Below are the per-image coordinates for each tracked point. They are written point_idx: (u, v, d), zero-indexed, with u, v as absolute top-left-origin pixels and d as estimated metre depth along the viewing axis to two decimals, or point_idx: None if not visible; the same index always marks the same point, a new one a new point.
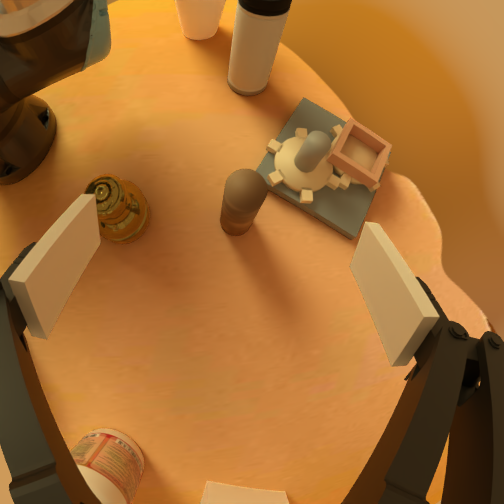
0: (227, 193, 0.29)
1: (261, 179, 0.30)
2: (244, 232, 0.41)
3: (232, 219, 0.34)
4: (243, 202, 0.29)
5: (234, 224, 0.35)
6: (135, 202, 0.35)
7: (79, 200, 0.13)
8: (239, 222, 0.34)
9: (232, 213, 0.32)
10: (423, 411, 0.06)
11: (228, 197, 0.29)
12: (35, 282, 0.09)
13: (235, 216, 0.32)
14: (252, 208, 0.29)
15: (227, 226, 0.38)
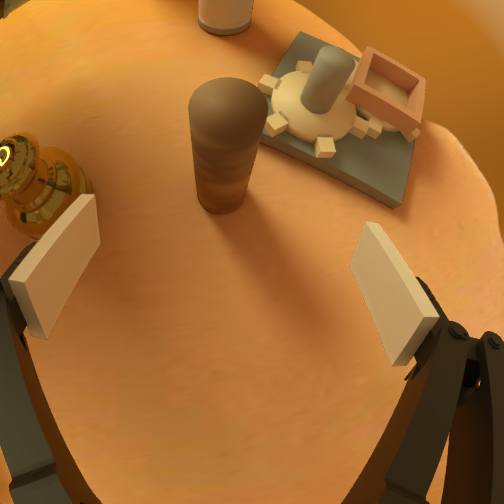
0: (193, 116, 0.14)
1: (255, 91, 0.15)
2: (236, 208, 0.26)
3: (211, 176, 0.19)
4: (225, 128, 0.14)
5: (216, 188, 0.20)
6: (62, 174, 0.20)
7: (79, 200, 0.13)
8: (224, 182, 0.19)
9: (208, 160, 0.17)
10: (423, 410, 0.06)
11: (195, 122, 0.14)
12: (35, 282, 0.09)
13: (214, 167, 0.17)
14: (243, 138, 0.15)
15: (206, 197, 0.23)
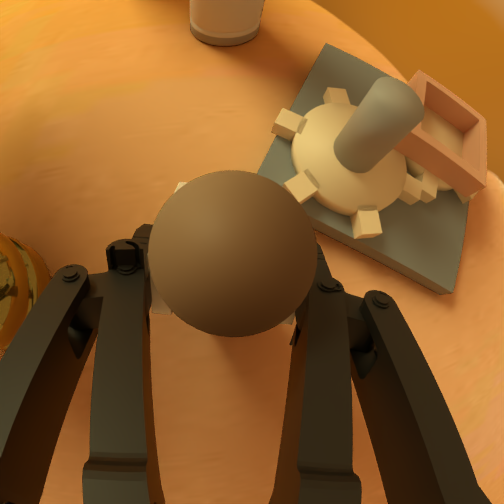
0: (159, 279, 0.07)
1: (289, 206, 0.08)
2: None
3: None
4: (227, 311, 0.07)
5: None
6: (0, 278, 0.13)
7: None
8: None
9: None
10: (313, 382, 0.07)
11: (165, 296, 0.07)
12: None
13: None
14: None
15: None
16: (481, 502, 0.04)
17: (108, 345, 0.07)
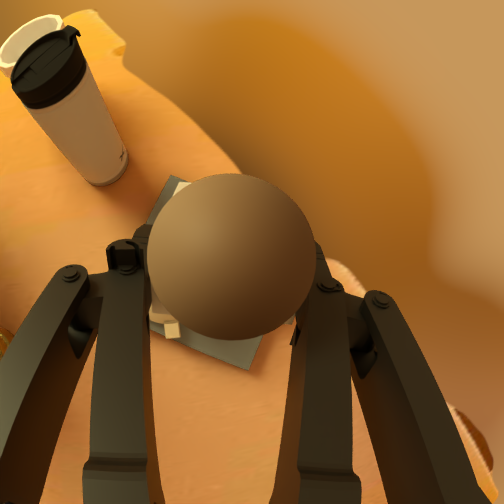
0: (158, 283, 0.07)
1: (288, 210, 0.08)
2: None
3: None
4: (226, 315, 0.07)
5: None
6: None
7: (181, 187, 0.15)
8: None
9: None
10: (313, 382, 0.07)
11: (164, 299, 0.07)
12: None
13: None
14: None
15: None
16: (481, 502, 0.04)
17: (108, 345, 0.07)
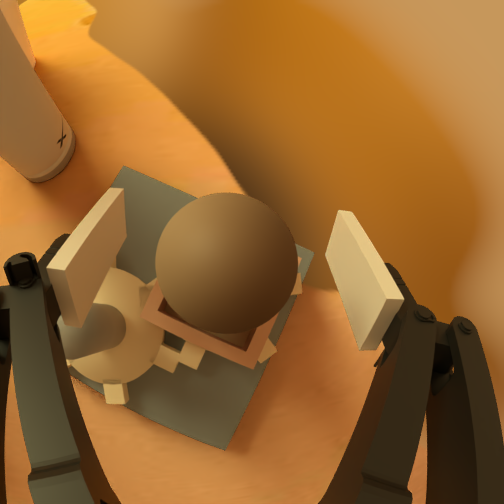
0: (165, 286, 0.08)
1: (274, 223, 0.09)
2: None
3: None
4: (221, 312, 0.08)
5: None
6: None
7: (108, 193, 0.14)
8: None
9: None
10: (394, 399, 0.07)
11: (170, 299, 0.08)
12: (73, 270, 0.09)
13: None
14: None
15: None
16: None
17: (22, 358, 0.06)
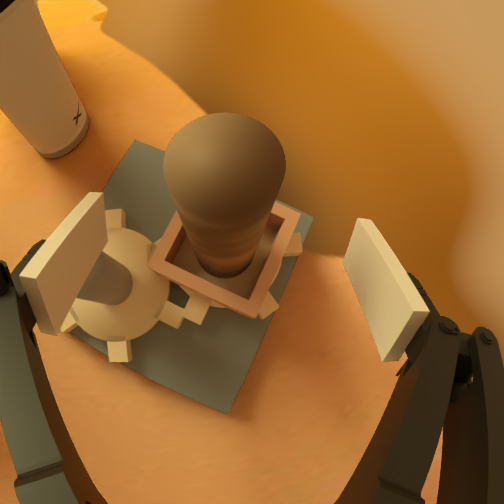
0: (170, 180, 0.10)
1: (264, 134, 0.10)
2: (243, 270, 0.21)
3: (207, 250, 0.14)
4: (218, 200, 0.10)
5: (216, 260, 0.16)
6: None
7: (87, 197, 0.13)
8: (225, 256, 0.15)
9: (200, 236, 0.12)
10: (415, 407, 0.06)
11: (173, 191, 0.10)
12: (46, 278, 0.09)
13: (209, 243, 0.13)
14: (247, 215, 0.10)
15: (205, 264, 0.18)
16: None
17: (0, 365, 0.06)
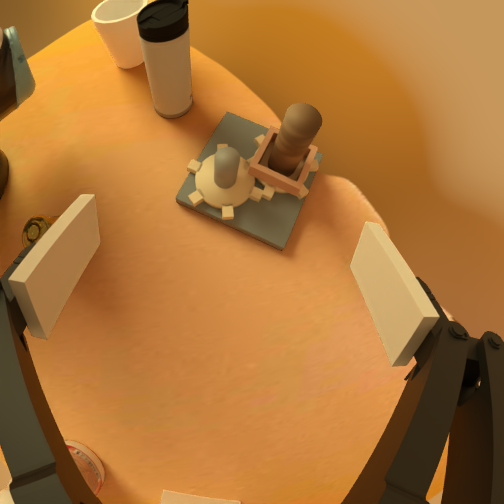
0: (289, 121, 0.31)
1: (315, 110, 0.32)
2: (292, 173, 0.42)
3: (288, 152, 0.36)
4: (304, 127, 0.31)
5: (288, 159, 0.37)
6: None
7: (79, 200, 0.13)
8: (294, 155, 0.36)
9: (291, 143, 0.34)
10: (423, 411, 0.06)
11: (290, 124, 0.31)
12: (35, 282, 0.09)
13: (293, 146, 0.34)
14: (312, 133, 0.31)
15: (279, 165, 0.40)
16: None
17: None
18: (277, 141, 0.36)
